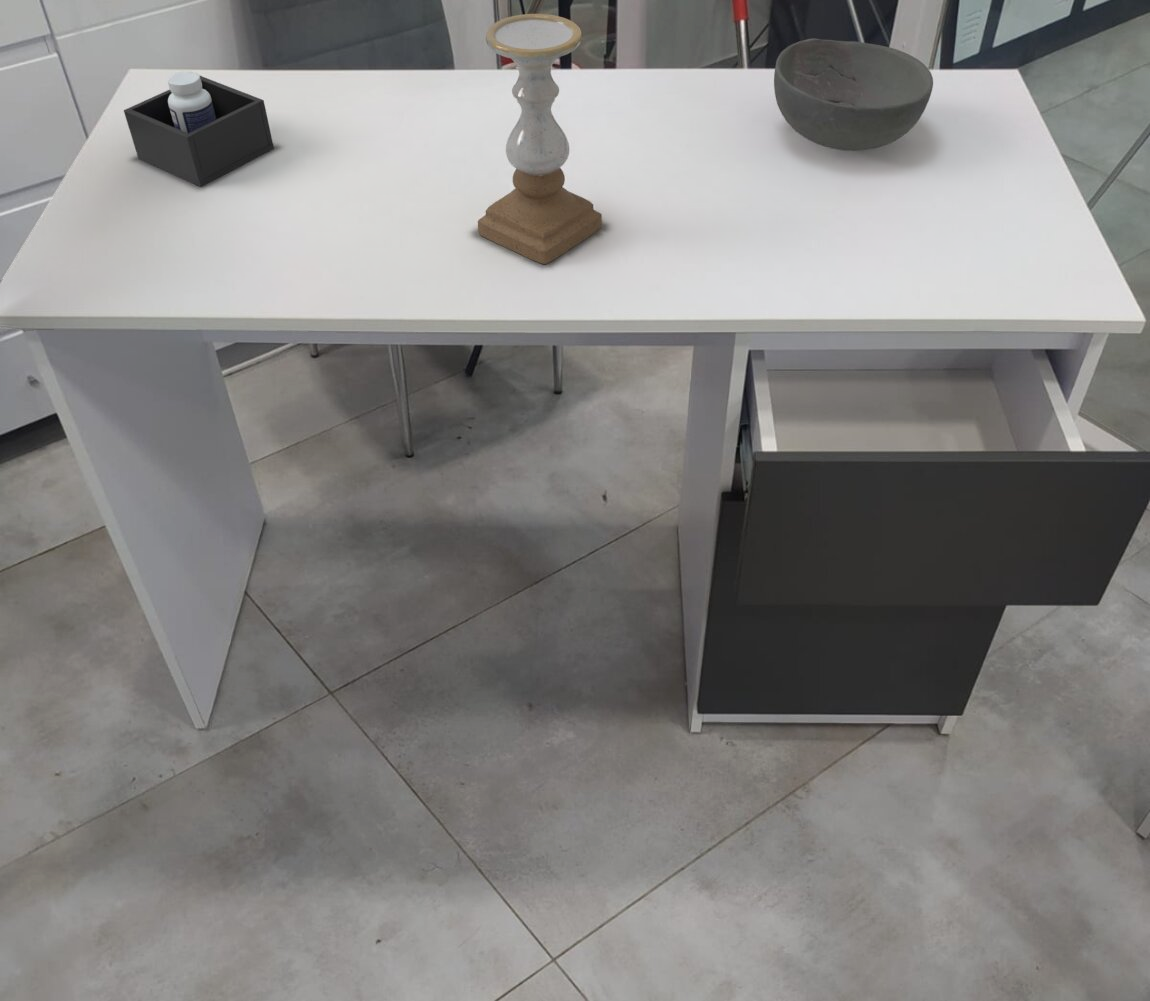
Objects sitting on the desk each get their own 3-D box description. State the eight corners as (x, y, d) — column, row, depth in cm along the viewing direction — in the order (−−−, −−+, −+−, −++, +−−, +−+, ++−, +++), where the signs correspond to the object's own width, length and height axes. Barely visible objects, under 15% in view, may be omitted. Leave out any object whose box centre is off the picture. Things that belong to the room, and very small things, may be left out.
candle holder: (545, 265, 129) (538, 63, 112) (476, 234, 134) (460, 35, 117) (604, 226, 135) (606, 28, 118) (536, 197, 140) (529, 3, 123)
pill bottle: (230, 142, 149) (213, 71, 142) (210, 161, 146) (191, 89, 139) (194, 137, 150) (175, 66, 143) (174, 156, 147) (153, 84, 140)
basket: (200, 187, 142) (187, 137, 138) (138, 158, 148) (123, 110, 143) (274, 148, 150) (263, 99, 145) (212, 123, 155) (200, 75, 150)
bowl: (811, 188, 141) (823, 113, 134) (741, 119, 155) (749, 47, 147) (949, 161, 146) (967, 87, 138) (869, 96, 159) (882, 25, 152)
